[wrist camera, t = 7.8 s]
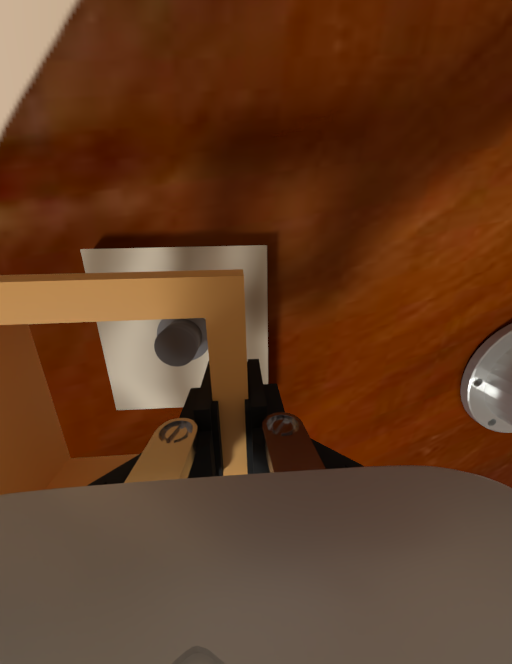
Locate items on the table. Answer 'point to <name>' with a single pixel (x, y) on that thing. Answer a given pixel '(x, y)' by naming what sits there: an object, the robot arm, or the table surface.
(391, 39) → the table surface
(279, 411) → the robot arm
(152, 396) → the board
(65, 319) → the tan square frame
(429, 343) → the table surface
